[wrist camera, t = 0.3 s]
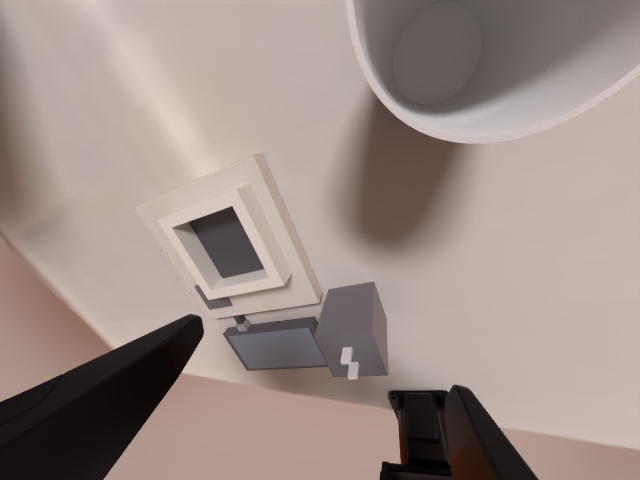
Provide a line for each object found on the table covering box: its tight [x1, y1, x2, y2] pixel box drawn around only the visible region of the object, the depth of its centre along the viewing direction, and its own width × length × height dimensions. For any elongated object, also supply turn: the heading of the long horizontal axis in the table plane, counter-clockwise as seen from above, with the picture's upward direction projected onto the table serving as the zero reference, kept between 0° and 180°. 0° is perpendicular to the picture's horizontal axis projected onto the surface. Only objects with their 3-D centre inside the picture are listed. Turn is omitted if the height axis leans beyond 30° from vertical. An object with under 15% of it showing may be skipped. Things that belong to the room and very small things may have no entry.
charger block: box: [314, 282, 388, 380], centre depth 20 cm, size 4×4×7 cm
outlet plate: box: [133, 153, 323, 320], centre depth 22 cm, size 14×14×4 cm
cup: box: [346, 0, 640, 144], centre depth 10 cm, size 8×8×10 cm
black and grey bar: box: [233, 315, 251, 332], centre depth 28 cm, size 3×1×1 cm, turn 21°
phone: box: [223, 317, 328, 371], centre depth 28 cm, size 6×12×1 cm, turn 111°
